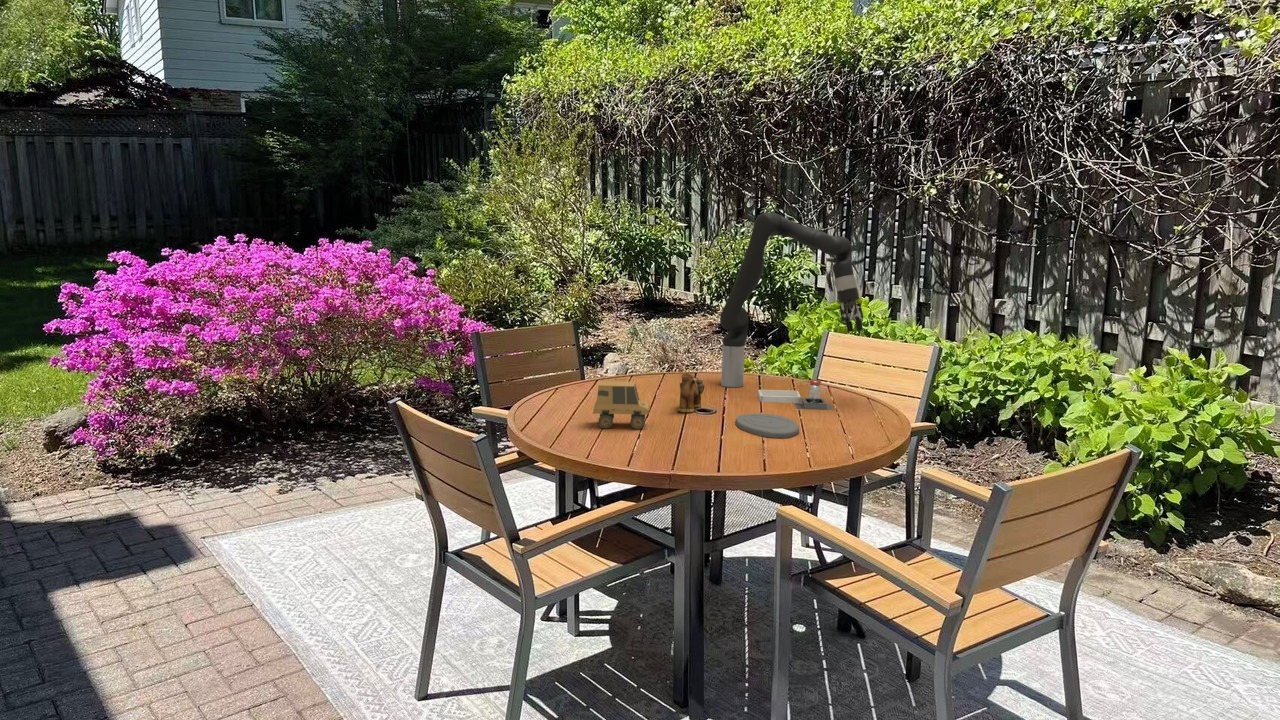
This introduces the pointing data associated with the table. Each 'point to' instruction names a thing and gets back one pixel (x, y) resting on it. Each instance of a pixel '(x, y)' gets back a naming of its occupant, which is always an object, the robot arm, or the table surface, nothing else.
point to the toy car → (620, 403)
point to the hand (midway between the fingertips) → (855, 331)
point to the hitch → (813, 405)
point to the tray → (779, 396)
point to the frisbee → (767, 425)
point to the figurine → (690, 393)
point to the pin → (814, 391)
